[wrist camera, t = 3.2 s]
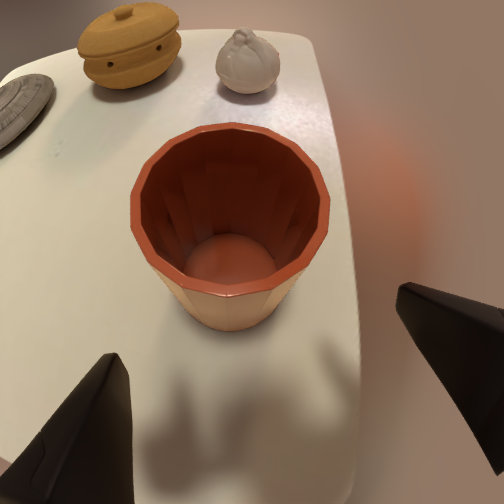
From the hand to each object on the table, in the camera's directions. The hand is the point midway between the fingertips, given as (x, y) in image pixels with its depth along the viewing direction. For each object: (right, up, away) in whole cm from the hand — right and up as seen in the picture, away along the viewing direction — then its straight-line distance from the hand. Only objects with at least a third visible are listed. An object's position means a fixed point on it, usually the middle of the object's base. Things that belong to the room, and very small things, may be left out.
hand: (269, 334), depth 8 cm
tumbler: (-2, 0, +12) cm, 12 cm away
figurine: (-1, +20, +20) cm, 28 cm away
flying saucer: (-33, +20, +18) cm, 42 cm away
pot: (-14, +24, +21) cm, 35 cm away
